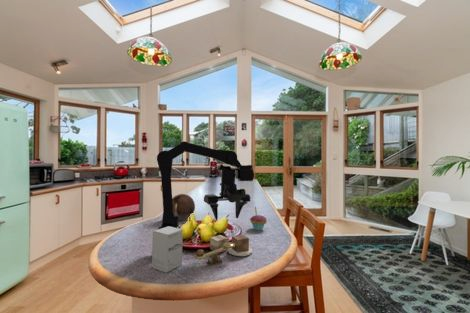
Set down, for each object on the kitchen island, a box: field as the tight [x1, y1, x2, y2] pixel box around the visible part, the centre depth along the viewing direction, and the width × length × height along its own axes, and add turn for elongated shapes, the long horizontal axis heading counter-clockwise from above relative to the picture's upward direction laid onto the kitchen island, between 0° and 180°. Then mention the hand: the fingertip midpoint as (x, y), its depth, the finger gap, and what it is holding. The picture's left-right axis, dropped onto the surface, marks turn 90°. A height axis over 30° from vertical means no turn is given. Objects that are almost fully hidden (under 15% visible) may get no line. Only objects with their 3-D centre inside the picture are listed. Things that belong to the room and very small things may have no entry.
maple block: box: [209, 234, 229, 254], centre depth 102 cm, size 5×5×5 cm
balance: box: [193, 241, 235, 266], centre depth 90 cm, size 16×4×6 cm, turn 118°
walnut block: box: [231, 233, 250, 253], centre depth 99 cm, size 5×5×5 cm
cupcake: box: [249, 206, 268, 231], centre depth 131 cm, size 9×8×12 cm
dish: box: [227, 246, 253, 257], centre depth 99 cm, size 10×10×1 cm
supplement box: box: [151, 226, 184, 273], centre depth 86 cm, size 7×7×13 cm
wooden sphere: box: [172, 193, 196, 221], centre depth 146 cm, size 15×15×15 cm
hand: (226, 219), depth 103 cm, fingers open, 9 cm apart
